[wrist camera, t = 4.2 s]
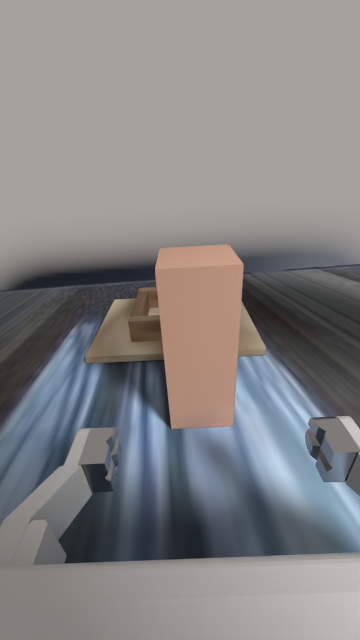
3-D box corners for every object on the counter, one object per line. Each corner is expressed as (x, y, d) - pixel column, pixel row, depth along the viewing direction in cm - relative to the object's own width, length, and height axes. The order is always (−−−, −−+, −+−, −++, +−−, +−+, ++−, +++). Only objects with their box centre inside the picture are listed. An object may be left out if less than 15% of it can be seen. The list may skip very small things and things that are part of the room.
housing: (237, 298, 38) (238, 276, 37) (265, 355, 26) (269, 326, 24) (115, 304, 39) (111, 283, 37) (86, 363, 26) (78, 335, 25)
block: (223, 383, 23) (228, 244, 17) (233, 426, 19) (243, 264, 13) (172, 385, 23) (160, 248, 17) (171, 428, 19) (154, 269, 13)
